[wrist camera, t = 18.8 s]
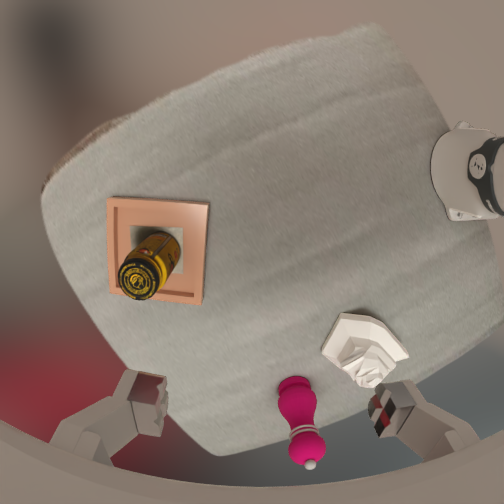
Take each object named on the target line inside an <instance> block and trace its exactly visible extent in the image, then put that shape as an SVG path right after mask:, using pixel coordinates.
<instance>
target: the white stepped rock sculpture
mask: <svg viewBox="0 0 504 504" xmlns="http://www.w3.org/2000/svg"><path fill="white" fill-rule="evenodd" d="M322 354H323V355H324V356H325V357H327V358H328V359H329V360H330V361H331V362H332V363H334V364H335V365H336V366H337V367H338V368H340V369H341V370H343V371H345V372H346V373H348V374H349V375H350V376H351V377H352V379H353V381H354V382H357V383H358V384H359V386H360V387H366V388H374V387H375V386H376V385H377V384H379V383H380V382H381V381H382V380H383V379H384V378H385V377H386V376H387V375H388V373H389V372H390V371H392V370H393V369H394V368H395V367H396V362H395V361H399V360H402V359H406V358H409V355H408V351H407V350H406V349H405V348H404V346H403V345H402V344H401V343H400V342H399V341H398V339H397V338H396V337H395V336H394V335H393V334H392V332H391V331H390V330H389V329H388V328H387V327H386V325H385V324H384V323H383V322H381V321H379V320H377V319H375V318H373V317H371V316H365V315H356V314H347V313H340V315H339V317H338V319H337V321H336V323H335V324H334V326H333V328H332V330H331V332H330V334H329V335H328V337H327V339H326V341H325V343H324V344H323V346H322Z"/></svg>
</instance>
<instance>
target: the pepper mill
mask: <svg viewBox="0 0 504 504" xmlns="http://www.w3.org/2000/svg"><path fill="white" fill-rule="evenodd" d="M279 396H280V397H279V400H278V407H279V410H280V412H281V414H282V415H283V417H284V418H285V419H286V420H287V421H288V423H289V425H290V428H291V432H290V434H289V438H290V442H291V443H290V445H289V448H288V451H289V455H290V457H291V459H292V460H293V461H294V462H296V463H298V464H302V465H305V468H306V469H309V470H311V469H314V468H315V466H316V462H317V461H319V460H320V459H321V458H322V457H323V455H324V454H325V451H326V445H325V442H324V440H323V438H321V437H320V434H319V430H318V428H317V427H316V426H315V425H314V420H313V417H314V412H315V409H316V404H317V400H316V395H315V393H314V392H313V391H312V390H311V387H310V384H309V381H308V380H307V379H306V378H303V377H300V376H293V377H289V378H287V379H285V380H284V381H283V382H281V384H280V385H279Z"/></svg>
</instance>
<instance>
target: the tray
mask: <svg viewBox="0 0 504 504" xmlns="http://www.w3.org/2000/svg"><path fill="white" fill-rule="evenodd" d="M209 205H210V203H206V202H194V201H181V200H168V199H153V198H137V197H119V196H113V197H110V198H107V255H108V274H109V287H110V293H111V294H118V295H125V296H127V295H126V294H125V293H124V292H123V291H122V289H121V288H120V286H119V283H118V271H119V269H120V266H121V265H122V263H124V260H125V258H126V256H127V255H128V254H129V253H130V252H131V240H130V226H149V227H180V228H183V274H177V273H171V274H170V276H169V278H168V279H167V281H166V283H165V284H164V286H163V287H162V288H161V289H160V290H158V291H157V292H156V293H155V294H154V295H153V296H152V297H151V298H148V299H153V300H161V301H168V302H177V303H185V304H194V305H202V301H203V293H204V274H205V258H206V243H207V229H208V217H209Z"/></svg>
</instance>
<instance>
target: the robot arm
mask: <svg viewBox="0 0 504 504" xmlns="http://www.w3.org/2000/svg"><path fill="white" fill-rule="evenodd" d="M431 175H432V181H433V185H434V188H435V190H436V192H437V194H438V196H439V198H440V199H441V200H442V202H443V203H444V205H445V208H446V212H447V216H448V218H449V219H450V220H452V221H465V220H483V219H497V218H498V216H502V217H504V137H496V135H495V134H493V133H491V131H490V130H488V129H478V128H473V127H472V126H471V125H470V124H468V123H467V122H465V121H460V122H458V124H457V125H456V126H455V128H454V129H453V130H452V131H449V132H447V133H445V134H444V135H443V136H441V138H440V139H439V140H438V141H437V143H436V145H435V147H434V150H433V154H432V159H431ZM457 214H458V215H457ZM166 386H167V378H166V376H162V375H157V374H151V373H146V372H141V371H135V370H131V369H127V370H125V371H124V373H123V375H122V378H121V380H120V382H119V384H118V386H117V388H116V390H115V392H114V394H113V396H112V397H110V396H108V397H106V398H104V399H103V400H100V401H99V402H97V403H95V404H93V405H91V406H89V407H87V408H86V409H83V410H82V411H80V412H78V413H76V414H74V415H72V416H70V417H68V418H66V419H64V420H62V421H61V423H60V425H59V426H58V428H57V430H56V431H55V433H54V435H53V437H52V439H51V441H50V443H49V444H48V443H45V442H43V441H41V440H38V439H36V438H34V437H32V436H30V435H28V434H26V433H24V432H22V431H20V430H18V429H16V428H14V427H12V426H11V425H8V424H7V423H5V422H3V421H1V420H0V504H504V430H502V431H500V432H498V433H496V434H494V435H492V436H490V437H488V438H486V439H483V440H480V439H479V438H478V436H477V435H476V433H475V432H474V430H473V429H472V427H471V426H470V424H469V423H467V422H465V421H463V420H461V419H459V418H457V417H455V416H453V415H452V414H450V413H448V412H446V411H444V410H442V409H441V408H439V407H437V406H435V405H433V404H431V403H427V402H426V401H425V399H424V398H423V396H422V394H421V393H420V392H419V390H418V389H417V387H416V386H415V384H414V383H413V381H411V380H410V379H409V380H402V381H395V382H386V383H379V384H378V385H377V386H376V388H375V393H376V394H375V395H374V396H373V397H372V398H371V399H370V401H369V404H368V414H369V417H370V419H371V420H372V421H374V422H375V425H374V428H375V431H376V433H377V435H378V437H379V438H383V437H390V436H396V437H397V438H399V439H400V440H401V441H402V442H403V443H405V444H406V445H407V446H408V447H409V448H411V449H412V450H413V451H414V452H416V453H417V454H418V455H419V456H421V457H422V458H423V459H424V460H423V461H422V463H421V464H418V465H414V466H411V467H407V468H404V469H400V470H396V471H392V472H388V473H384V474H379V475H374V476H370V477H365V478H359V479H353V480H347V481H340V482H333V483H325V484H316V485H304V486H287V487H237V486H220V485H208V484H198V483H191V482H183V481H177V480H170V479H165V478H159V477H153V476H149V475H144V474H140V473H136V472H131V471H127V470H123V469H120V468H116V467H114V466H113V464H112V462H111V460H110V457H111V456H112V455H114V454H115V453H116V452H117V451H119V449H121V448H122V447H123V446H125V445H126V444H127V443H128V442H129V441H131V440H132V439H133V438H134V437H136V436H137V435H138V433H140V434H146V435H151V436H158V437H160V436H161V433H162V429H163V425H164V422H163V417H164V416H165V415H166V413H167V408H168V392H167V391H166Z"/></svg>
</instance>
